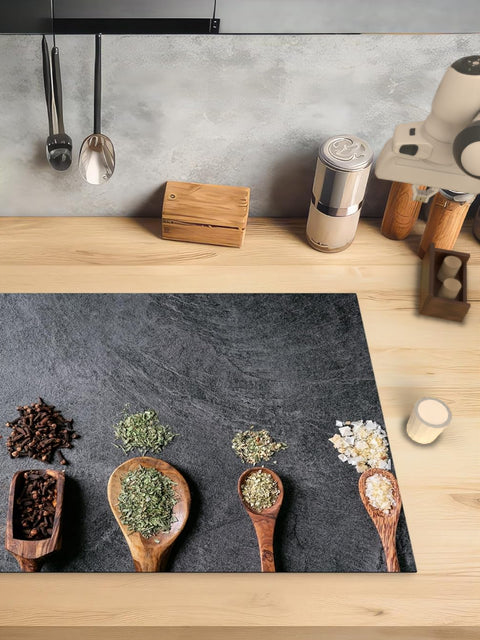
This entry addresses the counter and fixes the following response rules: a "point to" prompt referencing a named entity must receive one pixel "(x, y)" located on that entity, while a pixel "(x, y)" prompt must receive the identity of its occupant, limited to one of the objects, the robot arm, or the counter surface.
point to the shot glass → (428, 420)
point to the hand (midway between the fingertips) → (419, 199)
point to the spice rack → (444, 284)
